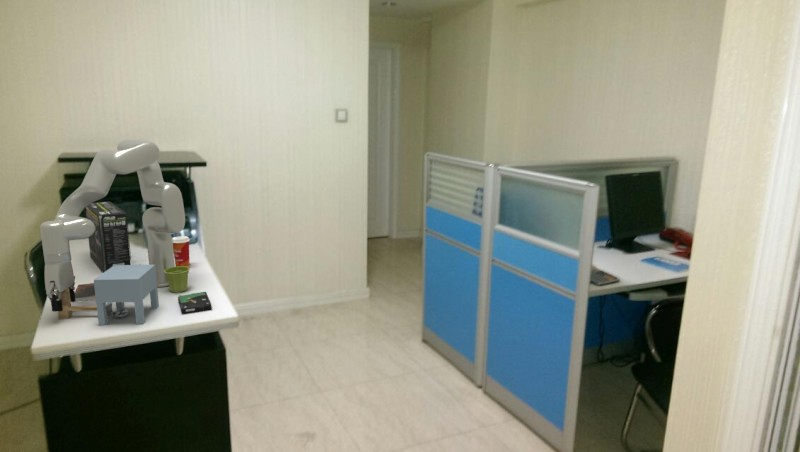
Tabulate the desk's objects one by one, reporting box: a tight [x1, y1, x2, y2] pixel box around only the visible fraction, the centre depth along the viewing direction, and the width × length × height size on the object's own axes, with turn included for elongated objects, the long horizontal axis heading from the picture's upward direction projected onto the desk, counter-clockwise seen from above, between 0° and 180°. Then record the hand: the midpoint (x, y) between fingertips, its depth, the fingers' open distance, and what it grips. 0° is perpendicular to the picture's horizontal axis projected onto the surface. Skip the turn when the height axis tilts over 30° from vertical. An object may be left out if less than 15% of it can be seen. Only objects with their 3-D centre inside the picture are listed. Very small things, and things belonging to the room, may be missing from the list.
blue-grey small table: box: [93, 264, 160, 326], centre depth 181 cm, size 16×15×16 cm
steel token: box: [112, 309, 130, 320], centre depth 182 cm, size 5×5×2 cm
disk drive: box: [177, 291, 213, 315], centre depth 193 cm, size 10×3×15 cm
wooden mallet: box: [54, 288, 114, 320], centre depth 180 cm, size 8×15×10 cm, turn 96°
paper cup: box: [172, 235, 191, 268], centre depth 234 cm, size 8×8×14 cm
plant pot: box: [164, 266, 190, 294], centre depth 207 cm, size 9×9×9 cm
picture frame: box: [74, 282, 96, 303], centre depth 205 cm, size 16×2×22 cm
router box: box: [84, 201, 132, 274], centre depth 236 cm, size 36×11×27 cm, turn 39°
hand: (64, 306), depth 179 cm, fingers open, 7 cm apart
